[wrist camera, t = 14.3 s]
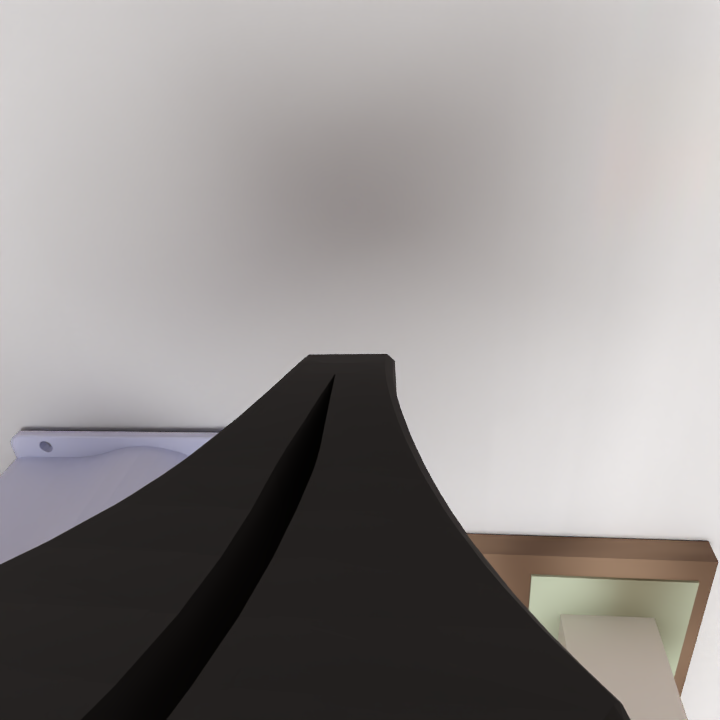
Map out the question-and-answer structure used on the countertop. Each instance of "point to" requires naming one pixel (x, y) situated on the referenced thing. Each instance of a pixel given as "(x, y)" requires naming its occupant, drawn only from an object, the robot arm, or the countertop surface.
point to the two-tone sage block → (625, 662)
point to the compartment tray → (610, 582)
